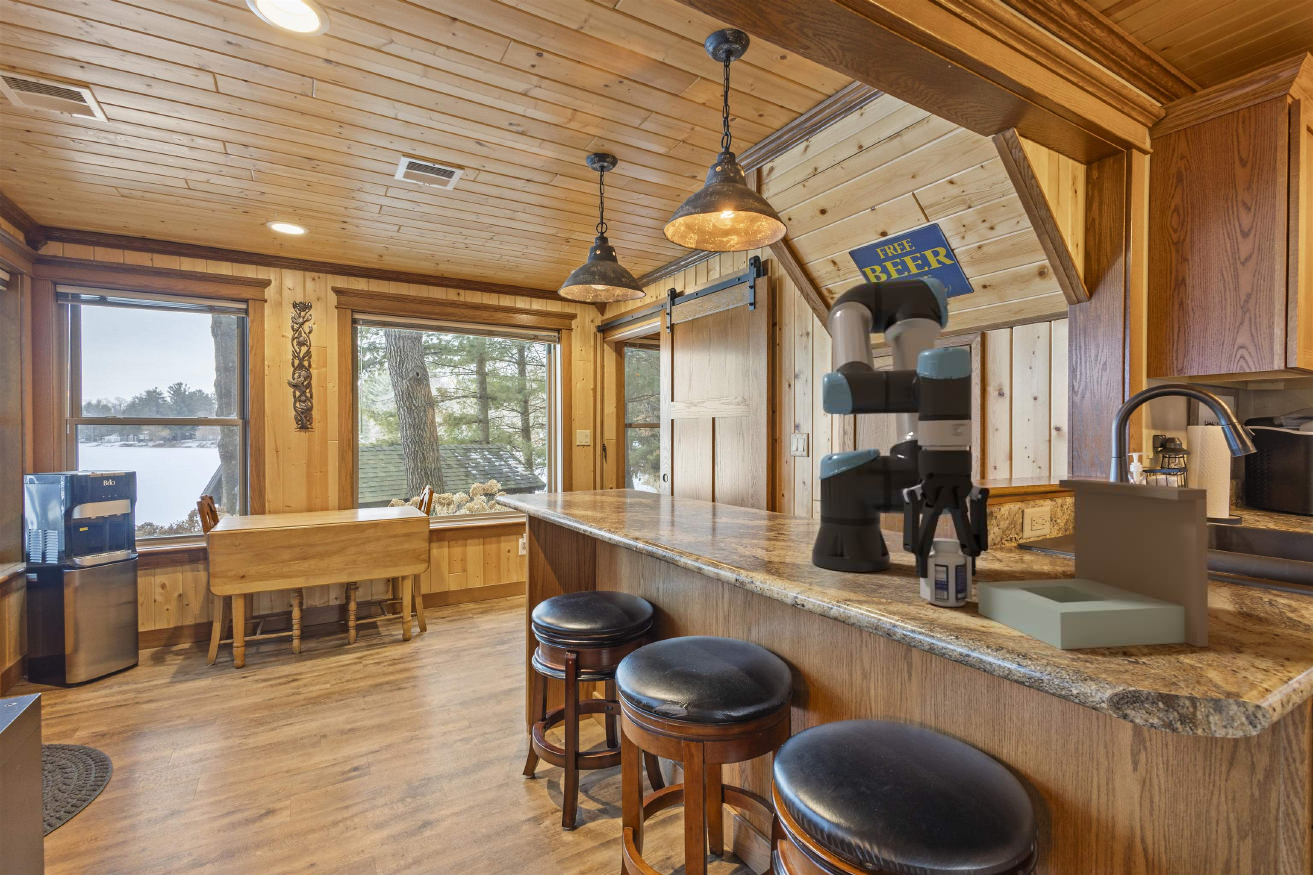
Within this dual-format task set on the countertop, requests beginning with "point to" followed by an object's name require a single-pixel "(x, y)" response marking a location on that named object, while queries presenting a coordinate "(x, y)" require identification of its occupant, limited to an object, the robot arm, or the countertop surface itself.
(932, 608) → the countertop surface
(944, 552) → the pill bottle
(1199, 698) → the countertop surface
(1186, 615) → the socket stand
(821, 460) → the robot arm
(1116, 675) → the countertop surface
